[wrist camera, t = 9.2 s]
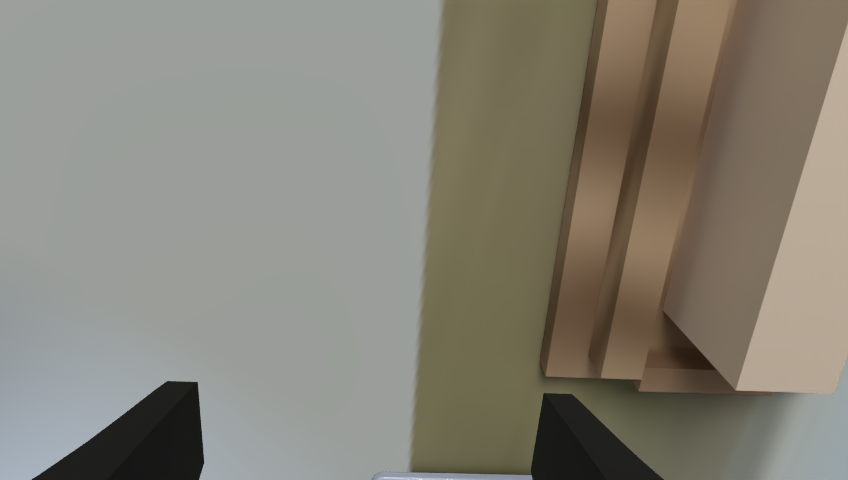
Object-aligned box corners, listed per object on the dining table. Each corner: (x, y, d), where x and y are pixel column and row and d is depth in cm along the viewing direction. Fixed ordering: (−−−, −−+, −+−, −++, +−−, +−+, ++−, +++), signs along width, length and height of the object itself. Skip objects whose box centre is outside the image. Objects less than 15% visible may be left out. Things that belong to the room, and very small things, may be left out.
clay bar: (740, 313, 22) (833, 393, 17) (662, 310, 22) (735, 390, 17) (843, -39, 18) (1003, -60, 13) (748, -48, 17) (876, -71, 13)
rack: (800, 371, 24) (843, 409, 22) (539, 362, 23) (555, 400, 21) (976, -132, 18) (1063, -155, 16) (624, -166, 17) (661, -195, 15)
